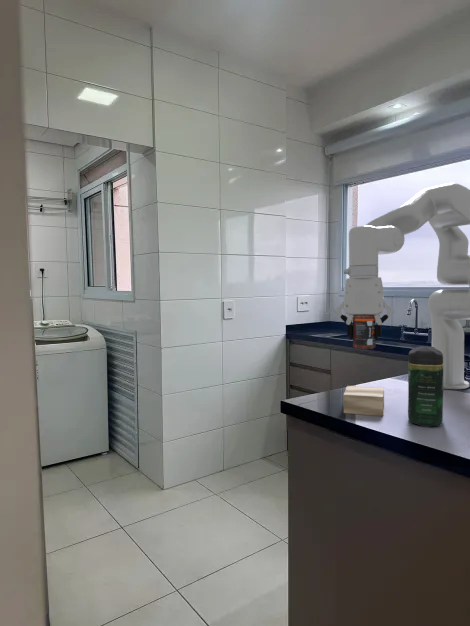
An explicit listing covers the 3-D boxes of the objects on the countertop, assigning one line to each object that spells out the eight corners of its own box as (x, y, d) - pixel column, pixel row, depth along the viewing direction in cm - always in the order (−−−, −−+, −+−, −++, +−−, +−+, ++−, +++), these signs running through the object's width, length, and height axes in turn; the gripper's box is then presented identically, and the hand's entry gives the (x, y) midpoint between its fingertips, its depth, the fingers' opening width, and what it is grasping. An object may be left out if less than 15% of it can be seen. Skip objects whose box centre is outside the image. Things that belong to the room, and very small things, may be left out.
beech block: (347, 402, 122) (347, 385, 121) (384, 405, 118) (384, 387, 118) (343, 412, 112) (343, 394, 112) (383, 416, 109) (383, 397, 108)
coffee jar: (444, 429, 98) (444, 350, 97) (407, 425, 101) (407, 349, 100) (442, 417, 107) (442, 344, 105) (409, 414, 110) (408, 343, 109)
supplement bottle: (377, 349, 111) (376, 306, 110) (353, 349, 112) (353, 307, 111) (374, 346, 116) (374, 305, 116) (352, 346, 118) (351, 305, 117)
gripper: (329, 273, 112) (330, 340, 114) (397, 271, 106) (398, 341, 107) (333, 274, 119) (333, 336, 121) (397, 271, 113) (398, 337, 114)
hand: (364, 338), depth 114 cm, fingers closed on supplement bottle, 6 cm apart
